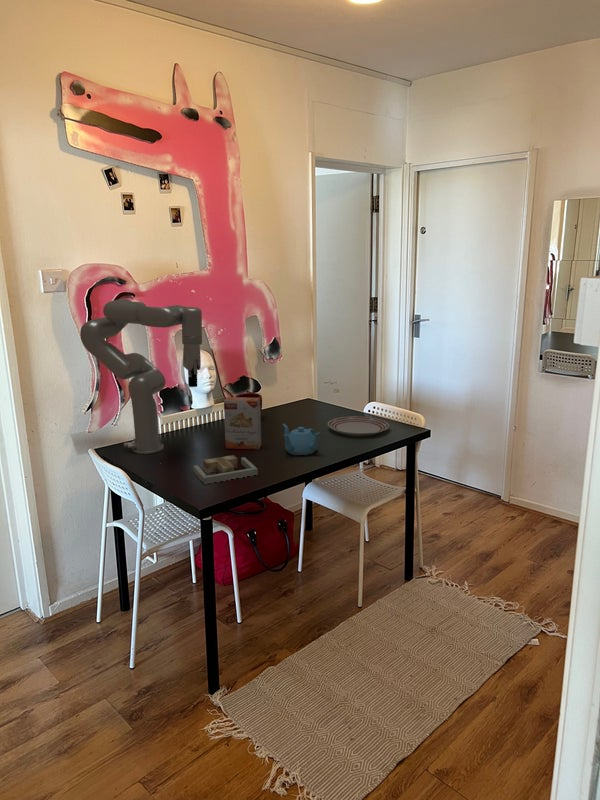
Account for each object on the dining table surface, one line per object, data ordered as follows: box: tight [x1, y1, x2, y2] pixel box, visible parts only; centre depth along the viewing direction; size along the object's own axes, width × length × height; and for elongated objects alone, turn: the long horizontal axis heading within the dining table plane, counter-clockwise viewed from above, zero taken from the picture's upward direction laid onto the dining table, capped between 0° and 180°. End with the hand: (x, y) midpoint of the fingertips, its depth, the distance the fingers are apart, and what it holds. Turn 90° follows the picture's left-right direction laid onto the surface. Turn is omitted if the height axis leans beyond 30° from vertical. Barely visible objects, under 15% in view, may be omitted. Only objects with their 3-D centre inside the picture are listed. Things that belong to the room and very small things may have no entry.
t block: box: [202, 454, 239, 474], centre depth 222 cm, size 12×12×4 cm
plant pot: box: [234, 392, 263, 418], centre depth 287 cm, size 13×13×12 cm
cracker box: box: [223, 396, 262, 451], centre depth 247 cm, size 14×6×21 cm, turn 82°
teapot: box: [282, 423, 322, 456], centre depth 242 cm, size 15×15×10 cm
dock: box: [193, 456, 259, 485], centre depth 221 cm, size 20×14×2 cm
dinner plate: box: [327, 415, 390, 437], centre depth 270 cm, size 28×27×3 cm
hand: (192, 386), depth 236 cm, fingers closed
